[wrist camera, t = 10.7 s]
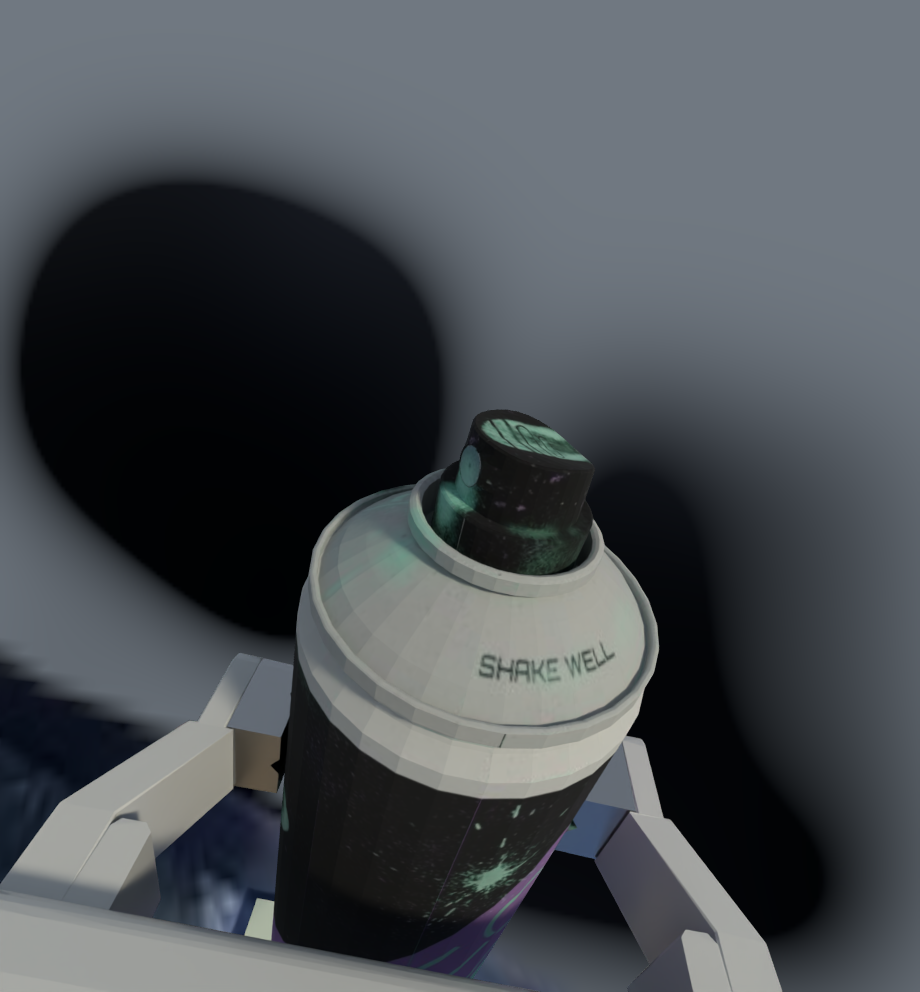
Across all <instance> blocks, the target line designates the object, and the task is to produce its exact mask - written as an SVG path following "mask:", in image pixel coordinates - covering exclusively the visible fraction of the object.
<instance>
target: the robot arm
mask: <svg viewBox="0 0 920 992" xmlns="http://www.w3.org/2000/svg"><path fill="white" fill-rule="evenodd" d="M292 678H293V665H289V664H285V663H281V662H277V661H273V660H268V659H264V658H260V657H256V656H251V655H246V654H242V653H239V654H238V655H237V656H236V657H235V658H234V659H233V660H232V662H231V664H230V665H229V667H228V669H227V670H226V672H225V674H224V676H223V677H222V679H221V681H220V682H219V685H218V686H217V688H216V689H215V691H214V693H213V694H212V696H211V698H210V700H209V701H208V703H207V705H206V707H205V708H204V710H203V712H202V713H201V715H200V717H199V719H198V720H197V721H191V720H189V721H187V722H186V723H184V724H183V725H181V726H179V727H178V728H176V729H175V730H173V731H171V732H170V733H168V734H167V735H165V736H164V737H162V738H160V739H159V740H157V741H156V742H154V743H153V744H151V745H149V746H148V747H146V748H145V749H143V750H142V751H140V752H138V753H137V754H135V755H134V756H132V757H131V758H129V759H127V760H126V761H124V762H123V763H121V764H120V765H118V766H116V767H115V768H113V769H112V770H110V771H109V772H107V773H105V774H104V775H102V776H101V777H99V778H98V779H96V780H94V781H93V782H91V783H90V784H88V785H87V786H85V787H83V788H82V789H80V790H79V791H77V792H75V793H74V794H72V795H71V796H69V797H68V798H66V799H64V800H63V801H61V802H60V803H59V804H58V806H57V807H56V808H55V810H54V811H53V812H52V814H51V815H50V817H49V818H48V819H47V821H46V822H45V823H44V825H43V826H42V828H41V829H40V830H39V832H38V833H37V834H36V836H35V837H34V839H33V840H32V841H31V843H30V844H29V845H28V847H27V848H26V849H25V851H24V852H23V854H22V855H21V856H20V858H19V859H18V860H17V862H16V863H15V865H14V866H13V867H12V869H11V870H10V871H9V873H8V874H7V875H6V877H5V878H4V880H3V881H2V882H1V884H0V992H539V991H533V990H528V989H523V988H518V987H512V986H507V985H502V984H497V983H491V982H486V981H481V980H476V979H470V978H465V977H460V976H455V975H449V974H444V973H439V972H434V971H428V970H423V969H418V968H413V967H407V966H402V965H397V964H392V963H386V962H381V961H376V960H371V959H365V958H360V957H355V956H350V955H344V954H339V953H334V952H329V951H323V950H318V949H313V948H307V947H302V946H297V945H292V944H286V943H281V942H276V941H271V940H265V939H260V938H255V937H250V936H244V935H239V934H234V933H228V932H223V931H218V930H213V929H207V928H202V927H197V926H192V925H186V924H181V923H176V922H171V921H165V920H160V919H155V918H152V917H153V915H154V913H155V910H156V908H157V906H158V904H159V902H160V900H161V896H160V889H159V883H158V876H157V869H156V863H155V858H156V857H157V856H158V855H159V854H161V853H162V852H163V851H164V850H165V849H166V848H167V847H168V846H170V845H171V844H172V843H173V842H174V841H175V840H176V839H177V838H178V837H180V836H181V835H182V834H183V833H184V832H185V831H186V830H187V829H189V828H190V827H191V826H192V825H193V824H194V823H195V822H196V821H198V820H199V819H200V818H201V817H202V816H203V815H204V814H205V813H206V812H208V811H209V810H210V809H211V808H212V807H213V806H214V805H215V804H217V803H218V802H219V801H220V800H221V799H222V798H223V797H224V796H226V795H227V794H228V793H229V792H230V791H231V790H232V789H233V786H239V787H245V788H250V789H256V790H262V791H268V792H274V793H277V791H278V789H279V786H280V784H281V781H282V778H283V776H284V773H285V764H286V752H287V739H288V727H289V715H290V702H291V690H292ZM555 849H556V850H559V851H564V852H568V853H572V854H577V855H581V856H585V857H590V858H594V859H596V860H595V863H596V865H597V867H598V868H599V870H600V872H601V874H602V876H603V878H604V880H605V882H606V883H607V885H608V887H609V889H610V891H611V893H612V894H613V896H614V898H615V900H616V902H617V904H618V906H619V908H620V910H621V912H622V914H623V915H624V917H625V919H626V921H627V923H628V925H629V927H630V928H631V930H632V932H633V934H634V936H635V938H636V940H637V941H638V943H639V945H640V947H641V949H642V951H643V953H644V955H645V957H646V959H647V960H648V962H649V964H650V965H649V966H648V967H647V968H646V969H645V970H644V971H643V972H641V973H640V975H638V976H637V977H636V978H635V979H634V980H633V981H632V983H631V984H630V985H629V986H628V988H627V989H628V992H782V990H781V986H780V983H779V981H778V978H777V975H776V972H775V969H774V966H773V963H772V960H771V957H770V954H769V951H768V948H767V945H766V943H765V942H764V940H763V939H762V938H761V937H760V935H759V934H758V933H757V931H756V930H755V929H754V927H753V926H752V925H751V924H750V923H749V921H748V920H747V918H746V917H745V916H744V915H743V913H742V912H741V911H740V909H739V908H738V907H737V905H736V904H735V903H734V902H733V900H732V899H731V898H730V896H729V895H728V894H727V893H726V891H725V890H724V889H723V887H722V886H721V885H720V883H719V882H718V881H717V880H716V878H715V877H714V876H713V874H712V873H711V872H710V870H709V869H708V868H707V867H706V865H705V864H704V863H703V861H702V860H701V859H700V858H699V856H698V855H697V854H696V852H695V851H694V850H693V848H692V847H691V846H690V845H689V843H688V842H687V841H686V839H685V838H684V837H683V836H682V834H681V833H680V832H679V830H678V829H677V828H676V826H675V825H674V824H673V823H672V821H671V820H669V819H665V818H663V814H662V811H661V807H660V803H659V799H658V795H657V791H656V787H655V783H654V779H653V775H652V771H651V767H650V763H649V759H648V755H647V752H646V747H645V744H644V743H643V741H642V740H641V739H639V738H634V737H629V736H625V738H624V739H623V741H622V743H621V744H620V746H619V747H618V749H617V750H616V752H615V754H614V755H613V757H612V758H611V760H610V762H609V763H608V765H607V766H606V768H605V770H604V771H603V773H602V774H601V776H600V778H599V779H598V781H597V782H596V784H595V785H594V787H593V789H592V790H591V792H590V793H589V795H588V797H587V798H586V800H585V801H584V803H583V805H582V806H581V808H580V809H579V811H578V813H577V814H576V816H575V817H574V819H573V820H572V822H571V824H570V825H569V827H568V828H567V830H566V832H565V833H564V835H563V836H562V838H561V840H560V841H559V843H558V844H557V846H556V848H555Z"/></svg>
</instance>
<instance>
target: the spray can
mask: <svg viewBox="0 0 920 992" xmlns="http://www.w3.org/2000/svg"><path fill="white" fill-rule="evenodd" d="M594 470H595V469H594V466H593V465H592V464H591V462H589V461H588V460H587V459H586V458H585V457H583V456H582V455H581V454H580V453H579V452H578V451H576V450H575V449H574V448H573V447H572V446H571V445H570V444H569V443H568V442H567V441H566V440H565V439H563V438H562V437H561V436H560V435H559V434H558V433H556V432H555V431H554V430H552V429H551V428H550V427H548V426H547V425H545V424H544V423H542V422H541V421H539V420H537V419H535V418H533V417H531V416H529V415H526V414H523V413H520V412H516V411H510V410H490V411H486V412H482V413H480V414H478V415H477V416H476V417H475V418H474V419H473V422H472V425H471V429H470V432H469V435H468V438H467V442H466V444H465V446H464V448H463V450H462V453H461V455H460V460H459V461H457V462H454V463H452V464H451V465H450V466H448V467H447V468H446V469H441V470H438V471H436V472H433V473H431V474H428V475H427V476H426V477H424V478H423V479H421V480H420V481H419V482H418V483H417V484H416V485H406V486H400V487H396V488H392V489H388V490H383V491H380V492H377V493H375V494H373V495H370V496H368V497H365V498H363V499H360V500H358V501H356V502H355V503H353V504H352V505H350V506H349V507H347V508H346V509H344V510H343V511H342V512H340V513H338V515H337V516H336V517H335V518H334V519H333V520H332V521H331V522H330V523H329V524H328V525H327V526H326V527H325V529H324V530H323V531H322V533H321V535H320V537H319V539H318V541H317V543H316V545H315V547H314V549H313V553H312V559H311V565H310V571H309V576H308V578H307V580H306V582H305V584H304V586H303V589H302V594H301V599H300V604H299V610H298V616H297V629H296V641H295V653H294V665H293V678H292V690H291V702H290V715H289V727H288V739H287V752H286V764H285V776H284V789H283V801H282V813H281V826H280V838H279V850H278V863H277V875H276V887H275V900H274V912H273V924H272V937H271V941H276V942H281V943H286V944H292V945H297V946H302V947H307V948H313V949H318V950H323V951H329V952H334V953H339V954H344V955H350V956H355V957H360V958H365V959H371V960H376V961H381V962H386V963H392V964H397V965H402V966H407V967H413V968H418V969H423V970H428V971H434V972H439V973H444V974H449V975H455V976H460V977H465V978H470V979H473V978H474V976H475V975H476V973H477V972H478V970H479V968H480V967H481V965H482V964H483V962H484V960H485V959H486V957H487V956H488V954H489V952H490V951H491V949H492V948H493V946H494V945H495V943H496V941H497V940H498V938H499V937H500V935H501V933H502V932H503V930H504V929H505V927H506V925H507V924H508V922H509V921H510V919H511V917H512V916H513V914H514V913H515V911H516V910H517V908H518V906H519V905H520V903H521V902H522V900H523V898H524V897H525V895H526V894H527V892H528V890H529V889H530V887H531V886H532V884H533V882H534V881H535V879H536V878H537V876H538V874H539V873H540V871H541V870H542V868H543V867H544V865H545V863H546V862H547V860H548V858H549V857H550V855H551V854H552V852H553V851H554V849H555V848H556V846H557V844H558V843H559V841H560V840H561V838H562V836H563V835H564V833H565V832H566V830H567V828H568V827H569V825H570V824H571V822H572V820H573V819H574V817H575V816H576V814H577V813H578V811H579V809H580V808H581V806H582V805H583V803H584V801H585V800H586V798H587V797H588V795H589V793H590V792H591V790H592V789H593V787H594V785H595V784H596V782H597V781H598V779H599V778H600V776H601V774H602V773H603V771H604V770H605V768H606V766H607V765H608V763H609V762H610V760H611V758H612V757H613V755H614V754H615V752H616V750H617V749H618V747H619V746H620V744H621V743H622V741H623V739H624V738H625V736H626V734H627V732H628V731H629V729H630V727H631V726H632V724H633V722H634V720H635V719H636V717H637V715H638V713H639V709H640V704H641V700H642V696H643V691H644V688H645V686H646V685H647V683H648V681H649V680H650V678H651V676H652V675H653V673H654V669H655V664H656V660H657V655H658V651H659V644H658V633H657V623H656V621H655V618H654V615H653V612H652V609H651V606H650V603H649V601H648V599H647V597H646V595H645V594H644V592H643V590H642V589H641V587H640V585H639V584H638V582H637V580H636V579H635V577H634V576H633V575H632V574H631V573H630V571H629V570H628V569H627V568H626V567H625V565H624V564H623V563H622V562H621V560H620V559H619V558H618V557H617V556H616V555H614V554H613V553H612V552H611V551H610V550H609V549H608V548H607V547H606V546H605V545H604V541H603V537H602V534H601V531H600V530H599V528H598V526H597V525H596V523H595V521H594V520H593V516H592V512H591V509H590V507H589V505H588V504H587V503H586V501H585V498H586V495H587V491H588V489H589V486H590V482H591V480H592V477H593V473H594Z"/></svg>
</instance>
